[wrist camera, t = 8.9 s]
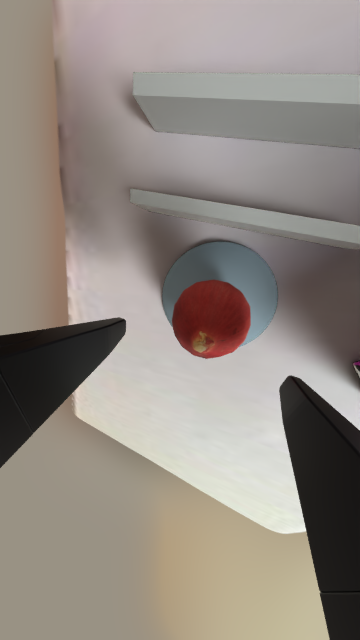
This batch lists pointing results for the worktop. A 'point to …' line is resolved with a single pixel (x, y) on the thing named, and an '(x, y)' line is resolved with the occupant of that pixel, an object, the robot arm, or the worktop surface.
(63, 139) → the worktop surface
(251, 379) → the worktop surface
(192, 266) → the mat
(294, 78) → the low walls
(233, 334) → the onion
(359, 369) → the candy bar box
